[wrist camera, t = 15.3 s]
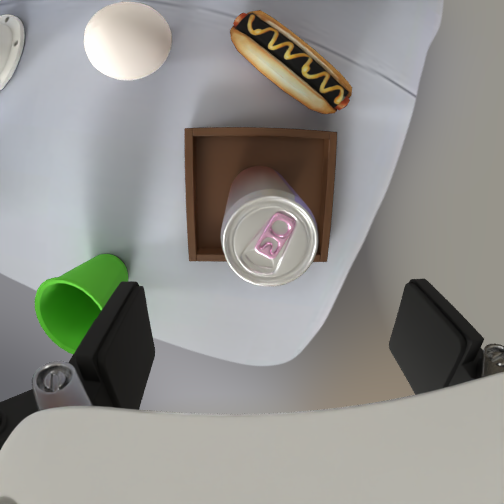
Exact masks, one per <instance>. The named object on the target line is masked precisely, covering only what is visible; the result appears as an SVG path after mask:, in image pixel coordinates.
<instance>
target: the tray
mask: <svg viewBox="0 0 504 504" xmlns="http://www.w3.org/2000/svg"><path fill="white" fill-rule="evenodd" d="M336 148H337V132H329V131H318V130H304V129H286V128H256V127H213V128H185V185H186V213H187V233H188V251H189V261H227V260H226V257H225V254H224V252H223V249H222V245H221V228H222V223H223V219H224V214H225V210H226V205H227V201H228V197H229V192H230V188H231V185H232V182H233V181H234V179H235V178H236V176H237V175H238V174H239V173H240V172H242V171H243V170H245V169H247V168H249V167H253V166H266V167H269V168H272V169H274V170H275V171H277V172H278V173H279V174H280V175H281V176H282V177H283V178H284V179H285V180H286V181H287V183H288V184H289V185H290V186H291V187H292V188H293V190H294V191H295V192H296V193H297V194H298V195H299V197H300V198H301V199H302V200H303V201H304V203H305V204H306V205H307V206H308V207H309V209H310V210H311V212H312V214H313V216H314V218H315V221H316V224H317V231H318V249H317V253H316V256H315V258H314V260H313V262H327V257H328V248H329V239H330V229H331V218H332V207H333V194H334V181H335V166H336Z"/></svg>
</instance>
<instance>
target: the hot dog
mask: <svg viewBox="0 0 504 504" xmlns="http://www.w3.org/2000/svg"><path fill="white" fill-rule="evenodd" d="M233 24H234V26H233V27H232V28H231V30H230V34H231V40H232V42H233V44H234V45H235V47H236V49H237V51H238V52H239V53H241V54H242V55H243V56H244V57H245V58H246V59H247V60H248V61H249V62H250V63H251V64H252V65H253V66H254V67H255V68H256V69H257V70H258V71H260V72H261V73H262V74H263V75H265V76H266V77H267V78H268V79H270V80H271V81H272V82H273V83H275V84H276V85H277V86H278V87H279V88H281V89H282V90H283V91H284V92H286V93H287V94H289V95H290V96H292V97H293V98H295V99H296V100H298V101H299V102H300V103H302V104H303V105H305V106H306V107H307V108H309V109H311V110H314V111H316V112H319V113H322V114H330V113H335V112H336V111H337V109H338V110H341V109H342V108H344V107H346V106H347V104H348V103H349V101H350V100H349V97H350V96H351V95H352V87H351V85H350V84H349V83H348V81H347V80H346V79H345V78H344V77H343V76H342V75H341V73H340V72H338V71H337V70H336V69H335V68H334V67H333V66H332V65H331V64H330V63H329V62H328V61H326V60H325V59H324V58H323V57H322V56H321V55H320V54H318V53H317V52H316V51H315V50H314V49H313V48H311V47H310V46H309V45H308V44H307V43H305V42H304V41H303V40H302V39H300V38H299V37H298V36H297V35H295V34H294V33H293V32H291V31H290V30H289V29H287V28H286V27H285V26H283V25H282V24H281V23H279V22H278V21H277V20H275V19H274V18H272V17H271V16H269V15H267V14H266V13H264V12H262V11H260V10H259V11H252V12H249V13H247V14H245V13H242V14H240V15H239V16H238V17H237V18H236V19H235V21H234V23H233Z"/></svg>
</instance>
